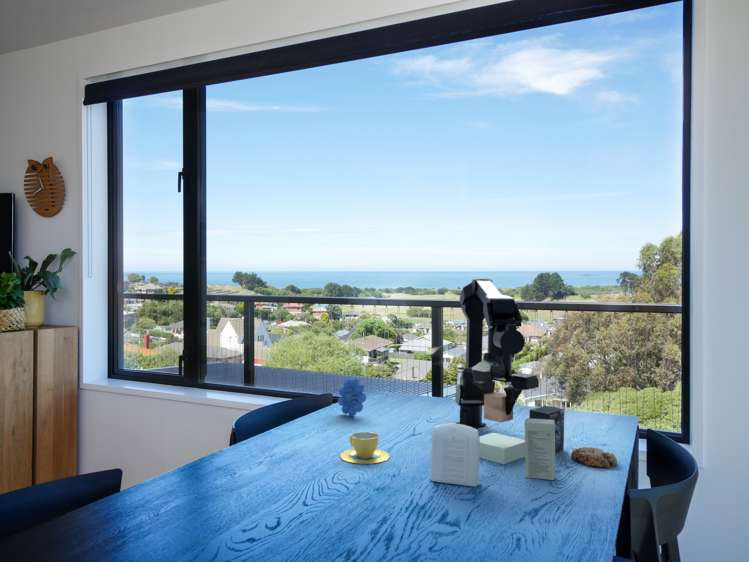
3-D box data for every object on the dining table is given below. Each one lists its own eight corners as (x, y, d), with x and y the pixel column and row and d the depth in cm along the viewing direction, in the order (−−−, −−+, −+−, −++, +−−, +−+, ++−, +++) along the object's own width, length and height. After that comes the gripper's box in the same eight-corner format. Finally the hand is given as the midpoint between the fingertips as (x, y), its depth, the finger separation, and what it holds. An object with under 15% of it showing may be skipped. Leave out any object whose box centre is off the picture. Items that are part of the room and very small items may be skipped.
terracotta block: (495, 415, 150) (496, 391, 150) (513, 419, 147) (513, 394, 146) (483, 418, 147) (484, 394, 147) (501, 422, 143) (501, 397, 143)
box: (548, 456, 146) (548, 413, 146) (527, 451, 150) (528, 409, 150) (564, 450, 151) (565, 408, 151) (544, 445, 155) (545, 404, 155)
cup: (400, 457, 144) (400, 435, 144) (364, 469, 136) (365, 445, 136) (364, 447, 153) (365, 426, 153) (329, 457, 144) (329, 434, 144)
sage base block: (493, 448, 154) (493, 432, 154) (527, 457, 147) (527, 440, 146) (469, 456, 147) (469, 439, 147) (503, 465, 140) (504, 448, 140)
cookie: (577, 453, 150) (577, 441, 150) (622, 461, 144) (622, 449, 144) (564, 463, 142) (564, 450, 142) (611, 472, 136) (611, 459, 135)
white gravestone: (480, 481, 128) (481, 423, 128) (477, 488, 124) (478, 428, 123) (432, 476, 131) (433, 419, 131) (428, 482, 127) (429, 424, 127)
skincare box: (555, 474, 133) (556, 419, 133) (554, 481, 129) (555, 424, 128) (525, 471, 135) (526, 417, 135) (523, 477, 131) (524, 421, 131)
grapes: (375, 417, 183) (375, 378, 183) (359, 421, 179) (359, 380, 178) (349, 410, 192) (349, 373, 191) (333, 414, 187) (333, 375, 187)
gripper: (448, 347, 148) (447, 411, 148) (513, 356, 134) (512, 425, 134) (476, 344, 155) (475, 404, 156) (540, 351, 142) (539, 417, 142)
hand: (498, 412), depth 147 cm, fingers closed on terracotta block, 5 cm apart
